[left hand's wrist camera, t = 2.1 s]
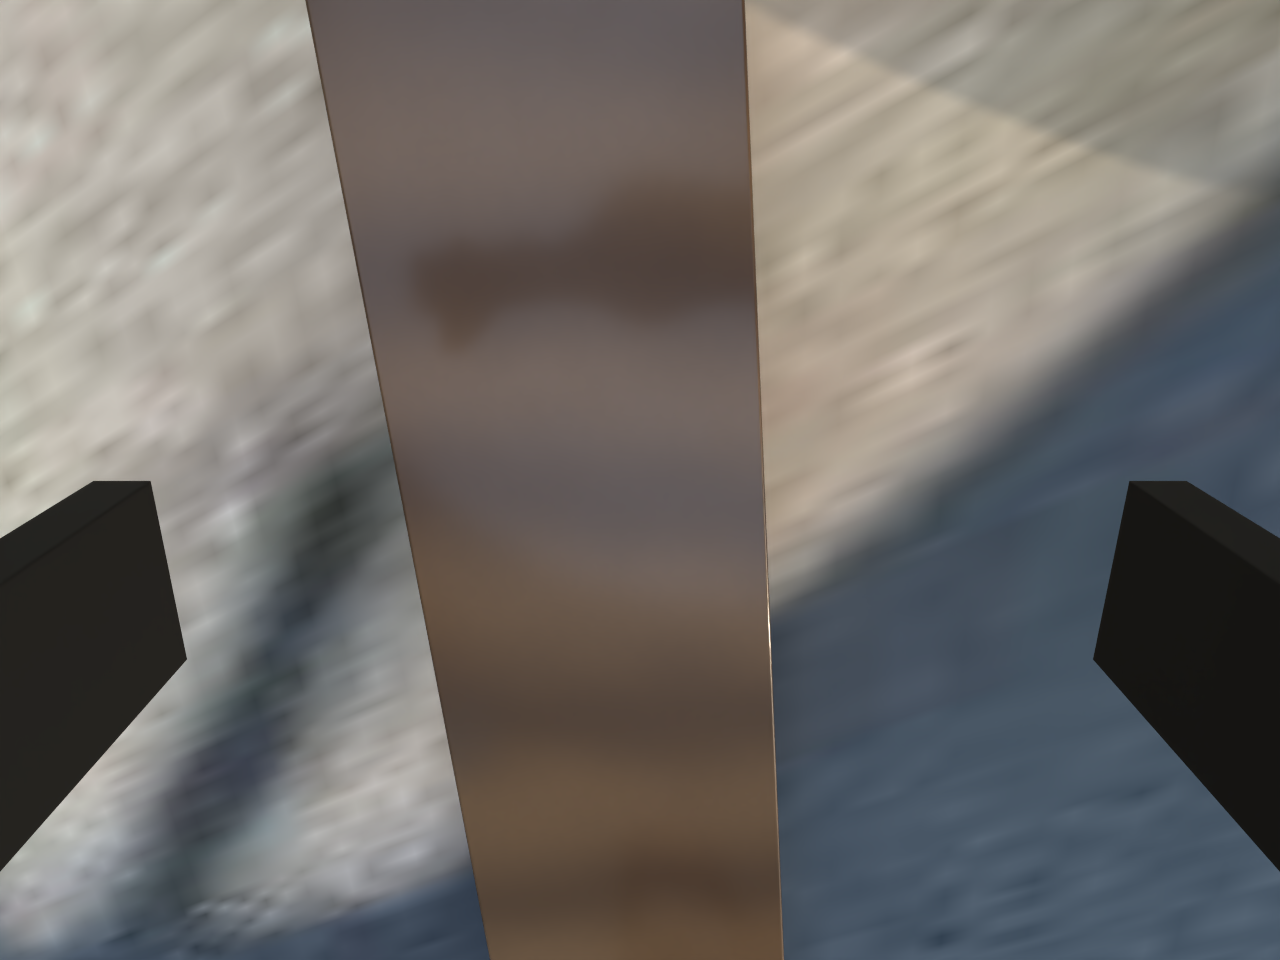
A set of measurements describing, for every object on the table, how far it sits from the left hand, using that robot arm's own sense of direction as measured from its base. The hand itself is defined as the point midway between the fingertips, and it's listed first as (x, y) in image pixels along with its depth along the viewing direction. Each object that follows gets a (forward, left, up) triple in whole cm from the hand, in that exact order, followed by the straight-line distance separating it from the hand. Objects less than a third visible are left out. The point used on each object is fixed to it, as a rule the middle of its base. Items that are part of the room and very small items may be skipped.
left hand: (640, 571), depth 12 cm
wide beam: (+8, +19, -17) cm, 27 cm away
